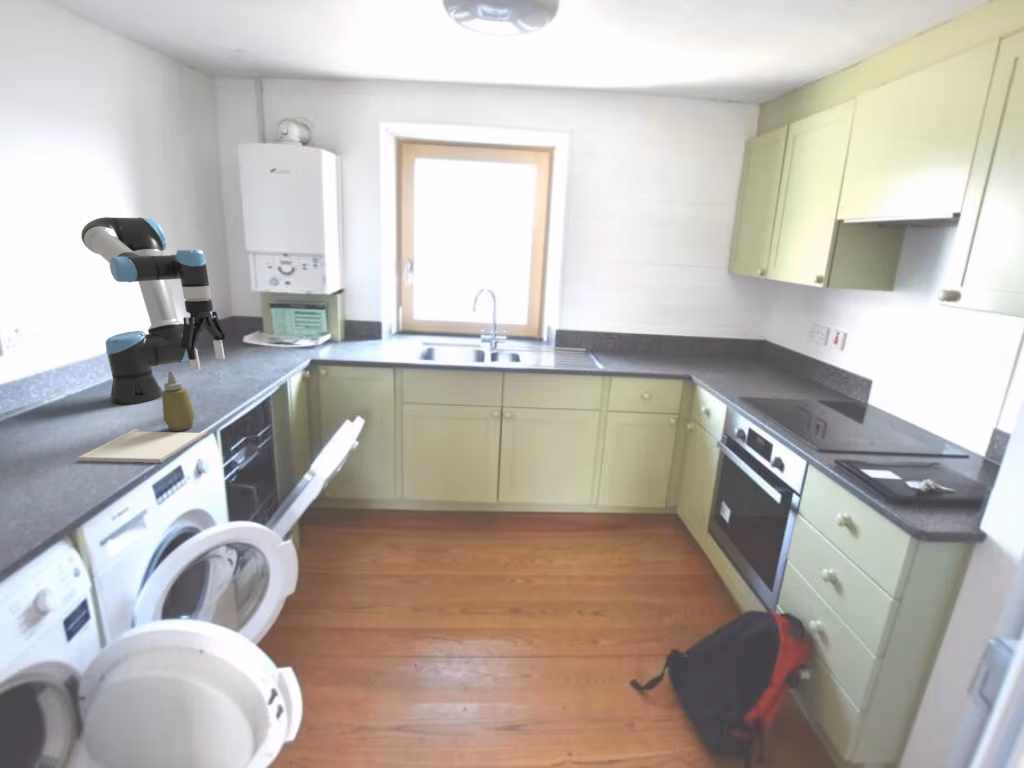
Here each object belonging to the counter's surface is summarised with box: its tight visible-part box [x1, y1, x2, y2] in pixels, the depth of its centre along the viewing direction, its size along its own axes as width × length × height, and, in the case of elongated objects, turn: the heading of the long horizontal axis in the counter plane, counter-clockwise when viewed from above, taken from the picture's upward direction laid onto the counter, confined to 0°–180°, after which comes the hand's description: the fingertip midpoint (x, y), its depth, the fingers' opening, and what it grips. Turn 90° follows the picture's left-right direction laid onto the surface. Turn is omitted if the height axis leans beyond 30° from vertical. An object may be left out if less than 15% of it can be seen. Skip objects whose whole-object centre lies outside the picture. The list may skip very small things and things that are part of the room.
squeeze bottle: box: [161, 370, 195, 432], centre depth 157 cm, size 8×8×18 cm
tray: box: [78, 428, 208, 464], centre depth 145 cm, size 20×22×1 cm
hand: (208, 363), depth 172 cm, fingers open, 13 cm apart
